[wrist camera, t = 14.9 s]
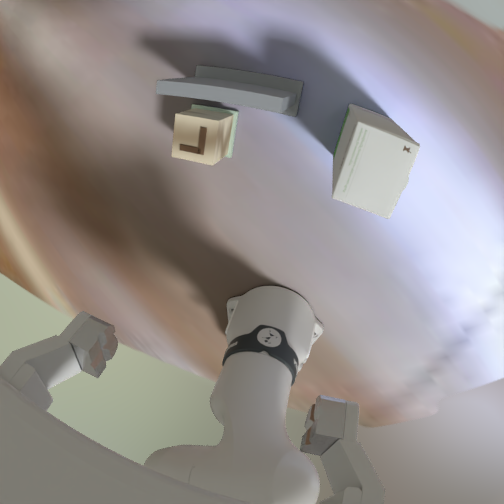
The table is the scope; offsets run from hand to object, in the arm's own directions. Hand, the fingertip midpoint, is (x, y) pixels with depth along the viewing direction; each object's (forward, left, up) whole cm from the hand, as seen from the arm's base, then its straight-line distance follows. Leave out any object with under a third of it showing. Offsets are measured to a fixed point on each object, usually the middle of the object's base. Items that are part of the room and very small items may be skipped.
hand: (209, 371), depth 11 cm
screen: (+6, +10, -37) cm, 39 cm away
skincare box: (+3, -7, -37) cm, 38 cm away
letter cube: (-1, +14, -36) cm, 39 cm away
